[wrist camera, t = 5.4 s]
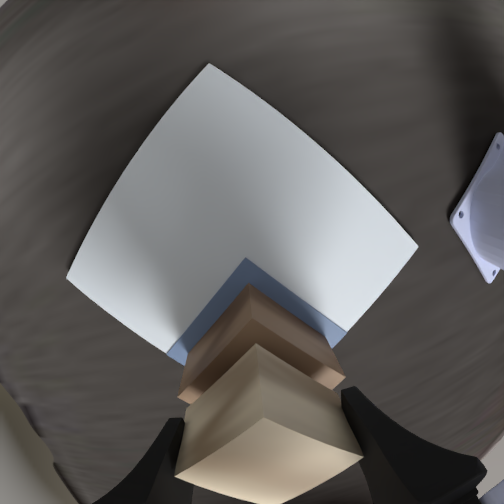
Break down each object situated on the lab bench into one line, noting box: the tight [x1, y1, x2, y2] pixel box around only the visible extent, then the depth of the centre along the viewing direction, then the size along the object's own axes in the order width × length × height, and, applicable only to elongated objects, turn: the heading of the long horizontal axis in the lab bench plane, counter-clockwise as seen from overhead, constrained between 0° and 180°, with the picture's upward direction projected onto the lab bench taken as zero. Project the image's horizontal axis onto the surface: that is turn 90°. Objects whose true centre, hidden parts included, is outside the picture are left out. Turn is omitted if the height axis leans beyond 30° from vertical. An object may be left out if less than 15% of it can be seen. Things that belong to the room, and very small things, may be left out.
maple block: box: [174, 344, 364, 504], centre depth 10 cm, size 5×5×4 cm
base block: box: [178, 283, 345, 404], centre depth 15 cm, size 6×6×4 cm
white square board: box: [66, 63, 418, 366], centre depth 16 cm, size 15×16×1 cm
